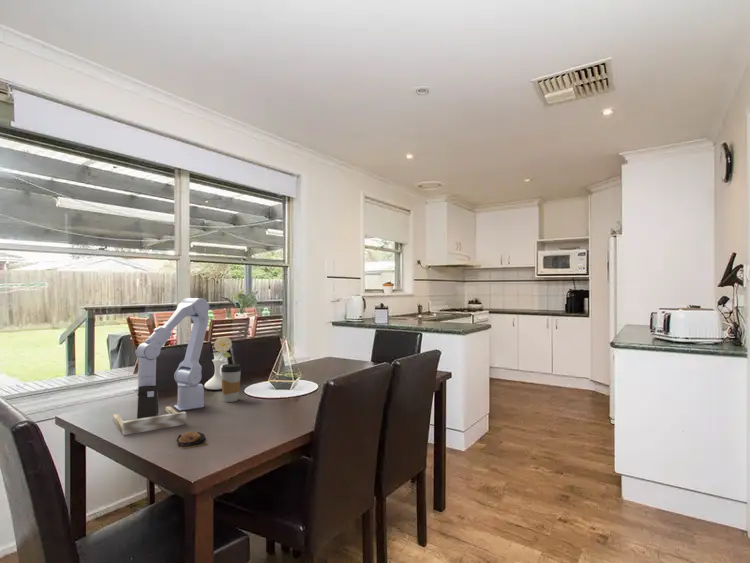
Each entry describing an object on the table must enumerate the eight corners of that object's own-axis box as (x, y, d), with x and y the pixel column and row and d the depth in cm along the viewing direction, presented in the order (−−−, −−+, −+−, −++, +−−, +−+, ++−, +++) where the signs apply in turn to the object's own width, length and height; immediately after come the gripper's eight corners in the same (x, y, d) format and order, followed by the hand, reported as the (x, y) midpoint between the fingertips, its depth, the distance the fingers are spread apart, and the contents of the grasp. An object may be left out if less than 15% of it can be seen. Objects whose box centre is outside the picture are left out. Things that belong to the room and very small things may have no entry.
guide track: (170, 410, 167) (170, 399, 167) (185, 424, 150) (186, 412, 150) (113, 418, 155) (113, 407, 155) (123, 435, 138) (123, 422, 138)
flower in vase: (199, 390, 199) (200, 337, 200) (212, 385, 210) (213, 334, 211) (224, 392, 197) (226, 338, 198) (236, 386, 208) (238, 335, 209)
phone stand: (155, 422, 151) (156, 390, 149) (136, 424, 149) (136, 392, 147) (158, 411, 159) (158, 381, 157) (140, 413, 157) (140, 382, 155)
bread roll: (209, 446, 131) (209, 434, 131) (179, 452, 126) (179, 439, 126) (202, 436, 140) (202, 425, 140) (174, 440, 135) (174, 429, 135)
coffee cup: (244, 399, 184) (245, 364, 185) (228, 403, 177) (229, 367, 178) (232, 396, 189) (232, 362, 189) (216, 400, 182) (216, 365, 182)
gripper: (131, 373, 160) (130, 410, 160) (138, 380, 149) (137, 419, 148) (151, 371, 164) (150, 407, 164) (160, 378, 153) (159, 416, 153)
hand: (146, 412), depth 156 cm, fingers closed, pressing on phone stand
